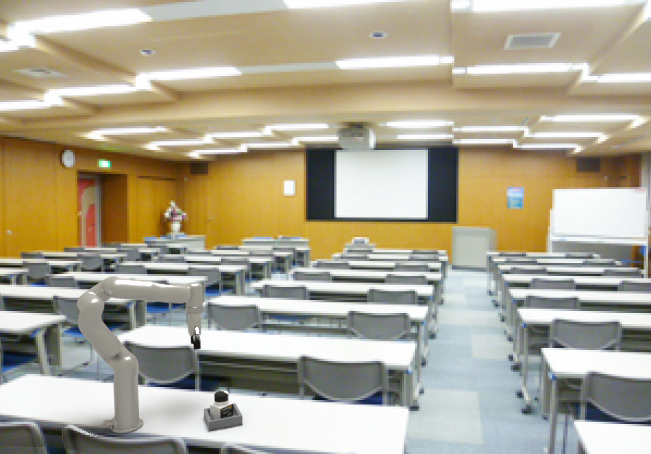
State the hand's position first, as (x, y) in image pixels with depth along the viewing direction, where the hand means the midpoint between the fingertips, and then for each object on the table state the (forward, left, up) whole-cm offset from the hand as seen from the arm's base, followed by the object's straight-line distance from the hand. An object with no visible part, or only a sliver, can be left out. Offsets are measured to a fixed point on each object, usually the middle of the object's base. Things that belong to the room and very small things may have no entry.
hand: (195, 346), depth 219 cm
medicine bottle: (+8, -20, -28) cm, 35 cm away
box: (+8, -20, -28) cm, 36 cm away
